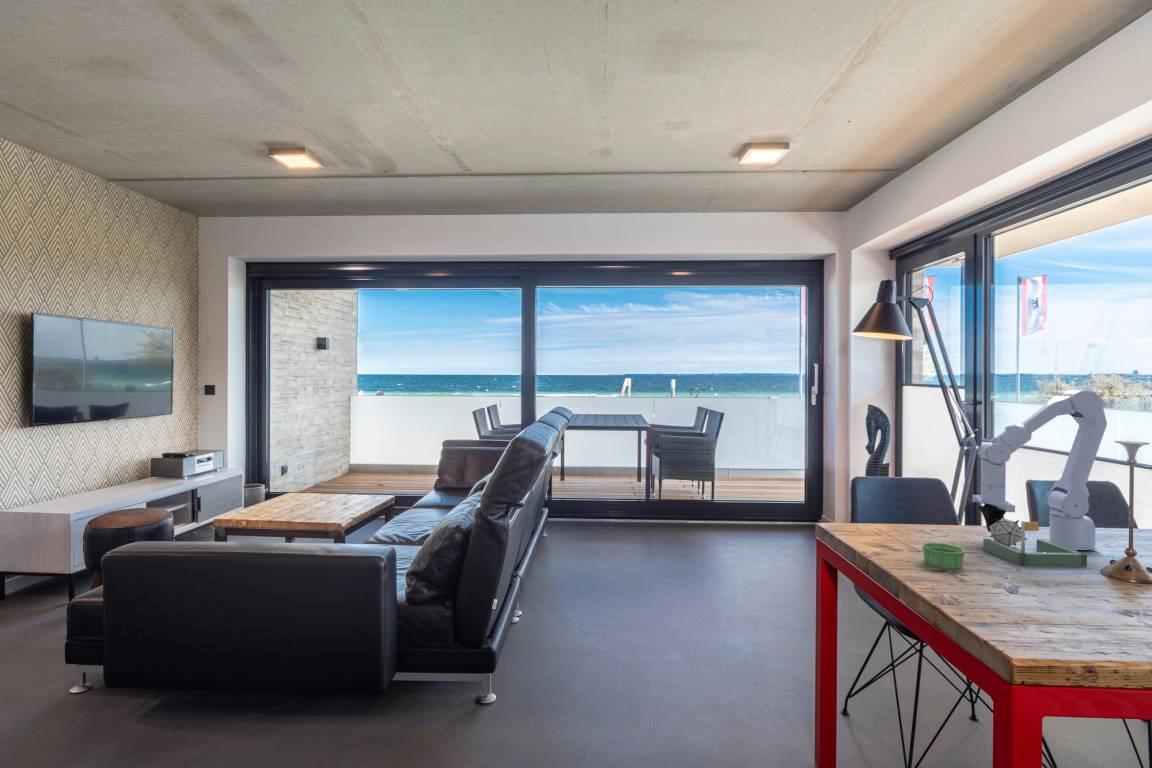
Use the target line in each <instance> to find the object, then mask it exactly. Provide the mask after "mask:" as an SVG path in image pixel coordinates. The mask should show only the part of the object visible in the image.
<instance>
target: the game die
mask: <svg viewBox="0 0 1152 768" xmlns="http://www.w3.org/2000/svg"><path fill="white" fill-rule="evenodd" d="M996 521H997V522H995V523H993V524H992V525H990V526H988V525H986V524H985V527H986V528H987V527H989V529H990V531H991V532H990V533H991V535H990V536H989V537H990V538H993V541H996V542H998V543H1001V544H1003V545H1006V546H1008V547H1012V545H1013V546H1017V543H1018V542H1020V541H1021V527H1020V526H1019V524H1018V523H1019V522H1020V520H1019V519H1018V520H1016V521H1015V520H1014V521H1013V520H1010V519H1008V518H1005V515H1004V516H1002V519H1000V520H998V519H996ZM1026 540H1028V538H1027V537H1025V541H1026Z"/></svg>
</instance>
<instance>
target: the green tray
mask: <svg viewBox="0 0 1152 768" xmlns="http://www.w3.org/2000/svg"><path fill="white" fill-rule="evenodd" d="M1020 522H1021V524H1020V525H1021V529H1020V530H1021V540H1020V541H1021V542H1020V543H1021V544H1020V550H1019V549H1016V548H1013V547H1012V546H1009V547H1008V546H1006V545H1003V544H1001V543H998V542H996V541H995V540H994V539H990V538H983V541H982V545H983V546H982V549H984V550H983V551H985V550H986V552H987V551H988V553H990V552H991V553H990V554H992V553H993V555H995V556H997V555H998V556H997V557H999V556H1000V558H1001V559H1002V558H1003V559H1005V560H1006V559H1007V560H1006V561H1008V562H1009V561H1010V562H1011V561H1012V562H1011V563H1013V562H1014V564H1016V563H1017V564H1016V565H1018V564H1019V566H1020V567H1066V566H1087V567H1088V555H1087V554H1086V553H1084V552H1082V551H1075V550H1072V549H1069V548H1066V547H1063V546H1060V545H1057V544H1054V543H1052V542H1049V541H1050V540H1046V539H1039V538H1036V551H1037V550H1040V551H1043V552H1046V553H1043V552H1040V551H1039V552H1027V551H1026V550H1025V549H1026V544H1025V543H1026V540H1025V538H1026V532H1039V530H1040V529H1039V528H1040V525H1039V521H1024V520H1022V521H1020Z"/></svg>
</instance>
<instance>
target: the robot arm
mask: <svg viewBox="0 0 1152 768" xmlns="http://www.w3.org/2000/svg"><path fill="white" fill-rule="evenodd" d="M1104 406H1105V401H1104V399H1102V397H1101V396H1100V395H1099V394H1098V393H1097V392H1095V391H1094V390H1091V389H1081V390H1080V389H1079V390H1077V389H1076V390H1075V389H1064V390H1062V391H1060V392H1059V393H1058V394H1057V395H1054V396H1053V397H1051V398H1050V399H1049V400H1048V401H1047V402H1046V403H1045V404H1044V405H1042V406H1041V407H1040V408H1039V409H1038V410H1036V412H1034V413H1033V414H1031V416H1029V417H1028V418H1026V420H1025V421H1023V422H1022V423H1021V424H1014V423H1013V424H1012V425H1007V426H1005V427H1004V431H1002V432H1001V433H1000V434H998V435H997V436H996V437H994V436H993V437H991V439H990V441H989V442H985V443H983V444H981V446H980V447H979V449H978V450H977V455H978V457H979V459H980V460H981V467H980V468H981V469H980V471H981V473H980V494H972V502H974V503H979V504H984V505H980V506H978V509H979V510H980V512H981V514H982V516H983V518H984V521H985V525H988V526H990V525H992V524H993V523H995V522H997V521H996V519H998V520H1000V519H1002V516H1004V517H1005V514H1006V513H1015V512H1016V505H1014V504H1013V503H1010V502H1009V501H1007V500H1006V484H1007V483H1006V482H1007V481H1006V480H1007V479H1006V476H1007V475H1006V473H1007V470H1006V469H1007V467H1006V466H1007V465H1006V463H1007V462H1009V461H1010V459H1011V454H1013V453H1014V452H1016V451H1017V450H1019V449H1020V448H1021V447H1023V446H1024V445H1026V444H1027V443H1028V442H1030V441H1031V440H1032V434H1033V433H1034V432H1035V431H1037V430H1039V429H1040V428H1041V427H1043V426H1044V425H1046V424H1047V423H1049V422H1050V421H1053V419H1055V418H1057V417H1058V416H1064V415H1065V416H1066V415H1069V416H1071V417H1072V419H1073V420H1074V421H1075V422H1076V423H1077V425H1078V428H1077V432H1076V433H1075V437H1074V440H1073V442H1072V446H1071V449H1070V451H1069V454H1068V457H1067V461H1066V463H1065V466H1064V469H1063V471H1062V474H1061V477H1060V478H1059V479H1058V480H1057V481H1055V482H1054V483H1053V485H1052V488H1051V489H1050V490H1049V491H1048V492H1047V493H1046V494H1045V497H1044V500H1045V503H1046V506H1047V507H1049V540H1048V541H1049V542H1052V543H1054V544H1057V545H1060V546H1063V547H1066V548H1069V549H1072V550H1098V548H1096V525H1095V522H1094V521H1093V519H1092V518H1091V517H1089V516H1087V515H1086V514H1087V513H1088V512H1089V509H1090V504H1089V503H1090V502H1089V496H1090V492H1089V490H1088V487H1087V482H1088V479H1089V476H1090V475H1091V471H1092V469H1093V468H1092V467H1093V465H1094V463H1095V460H1096V457H1097V454H1098V451H1099V448H1100V445H1101V442H1102V440H1103V437H1104V433H1105V431H1106V429H1107V426H1108V422H1107V418H1106V414H1105V410H1104ZM986 530H987V532H988V533H991V531H990V529H989V527H986ZM1098 551H1099V550H1098Z"/></svg>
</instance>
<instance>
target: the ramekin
mask: <svg viewBox="0 0 1152 768" xmlns="http://www.w3.org/2000/svg"><path fill="white" fill-rule="evenodd" d="M921 548H922V549H923V561H924V562H925V564H926V565H929V566H931V567H935V568H939V569H943V568H944V570H959V568H960V569H962V567H963V562H964V561H963V560H964V555H965V549H964V548H962V547H959V546H957V545H953V544H949V543H948V544H947V543H942V542H924V543H922V547H921Z"/></svg>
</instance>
